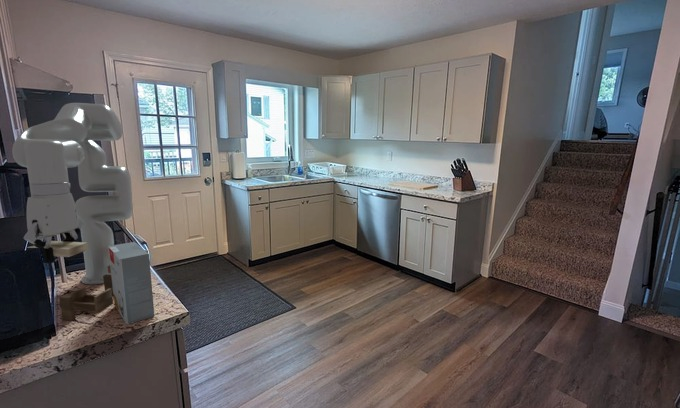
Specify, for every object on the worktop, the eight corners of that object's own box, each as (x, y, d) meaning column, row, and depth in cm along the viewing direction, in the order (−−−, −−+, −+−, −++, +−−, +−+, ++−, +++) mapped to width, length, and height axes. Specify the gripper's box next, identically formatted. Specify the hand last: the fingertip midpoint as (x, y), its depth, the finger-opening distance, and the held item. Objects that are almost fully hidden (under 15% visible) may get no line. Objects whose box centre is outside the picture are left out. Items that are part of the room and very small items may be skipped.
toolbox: (99, 293, 114) (96, 273, 113) (125, 295, 113) (123, 275, 112) (51, 319, 97) (48, 296, 96) (82, 321, 96) (79, 298, 95)
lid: (50, 247, 90) (49, 240, 90) (88, 249, 89) (87, 242, 89) (28, 255, 84) (27, 247, 84) (68, 257, 83) (67, 249, 83)
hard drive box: (113, 306, 106) (107, 245, 102) (141, 298, 111) (135, 241, 107) (126, 325, 95) (119, 258, 91) (155, 316, 100) (150, 252, 96)
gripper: (67, 185, 93) (75, 247, 96) (-1, 194, 76) (11, 269, 79) (92, 186, 92) (99, 248, 95) (30, 195, 75) (41, 271, 78)
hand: (59, 257), depth 87 cm, fingers closed on lid, 6 cm apart
